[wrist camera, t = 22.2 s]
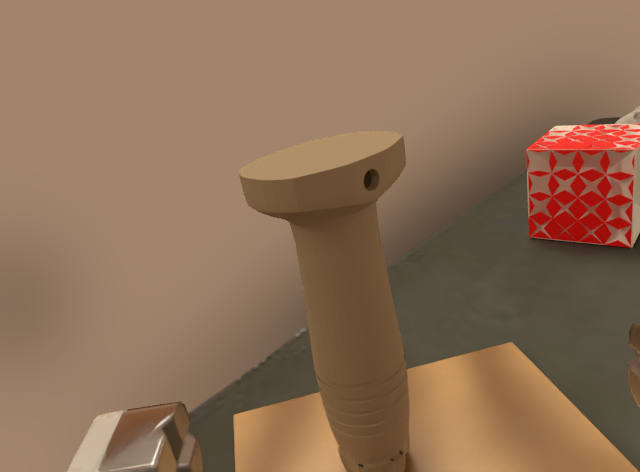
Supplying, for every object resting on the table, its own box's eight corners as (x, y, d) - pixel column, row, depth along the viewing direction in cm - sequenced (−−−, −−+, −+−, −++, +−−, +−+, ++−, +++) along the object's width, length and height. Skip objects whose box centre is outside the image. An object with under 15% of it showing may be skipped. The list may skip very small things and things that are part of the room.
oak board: (512, 352, 32) (512, 341, 32) (667, 515, 21) (669, 500, 21) (236, 425, 30) (233, 414, 30) (244, 645, 19) (240, 631, 19)
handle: (293, 475, 25) (215, 173, 20) (386, 403, 29) (341, 129, 23) (365, 537, 21) (294, 186, 16) (460, 445, 25) (428, 132, 20)
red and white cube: (632, 248, 41) (636, 149, 38) (529, 237, 46) (526, 149, 43) (650, 211, 47) (655, 122, 44) (556, 205, 52) (555, 125, 49)
